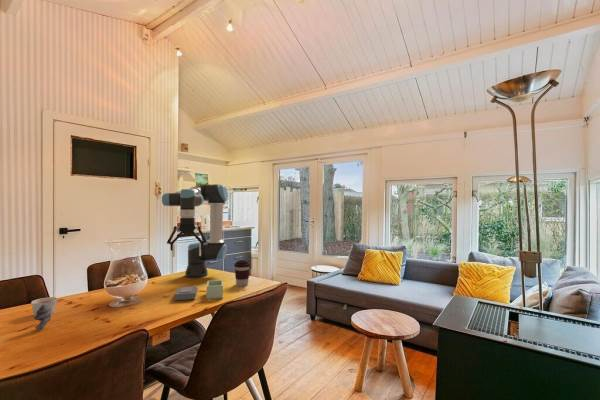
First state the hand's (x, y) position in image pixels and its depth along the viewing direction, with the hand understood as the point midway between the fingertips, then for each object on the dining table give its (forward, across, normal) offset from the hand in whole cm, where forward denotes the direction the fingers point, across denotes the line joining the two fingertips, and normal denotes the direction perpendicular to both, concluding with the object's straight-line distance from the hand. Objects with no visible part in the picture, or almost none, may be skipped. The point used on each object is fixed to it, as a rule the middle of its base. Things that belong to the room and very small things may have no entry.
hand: (187, 256), depth 161 cm
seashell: (+22, -51, -30) cm, 63 cm away
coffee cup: (+23, +31, +18) cm, 42 cm away
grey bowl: (+22, -60, -11) cm, 65 cm away
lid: (+22, 0, 0) cm, 23 cm away
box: (+22, +15, -1) cm, 27 cm away
